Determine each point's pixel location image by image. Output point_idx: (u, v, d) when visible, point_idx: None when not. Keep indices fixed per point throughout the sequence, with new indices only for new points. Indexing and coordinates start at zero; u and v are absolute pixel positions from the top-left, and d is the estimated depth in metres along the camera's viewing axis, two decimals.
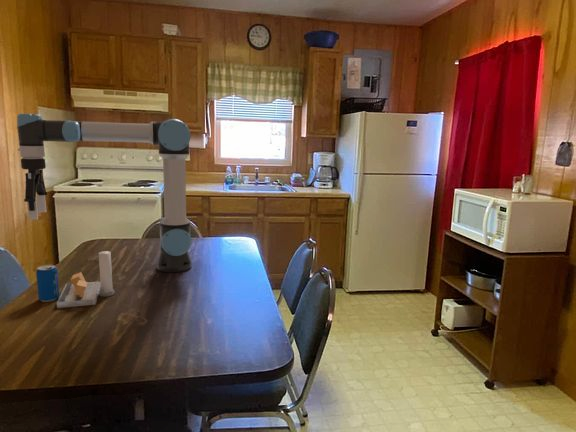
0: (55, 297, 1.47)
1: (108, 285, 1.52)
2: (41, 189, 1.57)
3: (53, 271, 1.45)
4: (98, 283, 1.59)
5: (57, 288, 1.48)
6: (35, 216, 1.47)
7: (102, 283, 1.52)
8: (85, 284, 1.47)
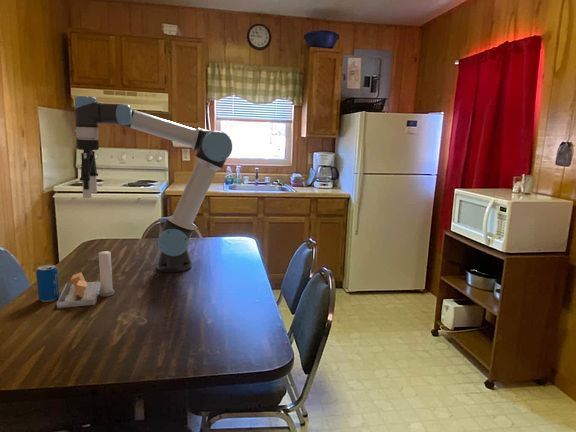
0: (55, 297, 1.47)
1: (108, 285, 1.52)
2: (93, 170, 1.63)
3: (53, 271, 1.45)
4: (98, 283, 1.59)
5: (57, 288, 1.48)
6: (89, 195, 1.53)
7: (102, 283, 1.52)
8: (85, 284, 1.47)
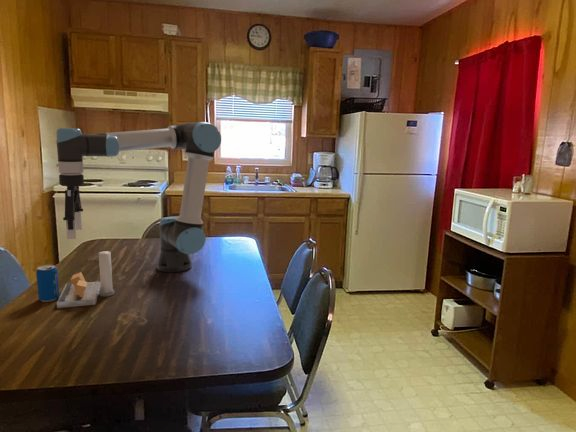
0: (55, 297, 1.47)
1: (108, 285, 1.52)
2: (78, 206, 1.50)
3: (53, 271, 1.45)
4: (98, 283, 1.59)
5: (57, 288, 1.48)
6: (73, 235, 1.40)
7: (102, 283, 1.52)
8: (85, 284, 1.47)
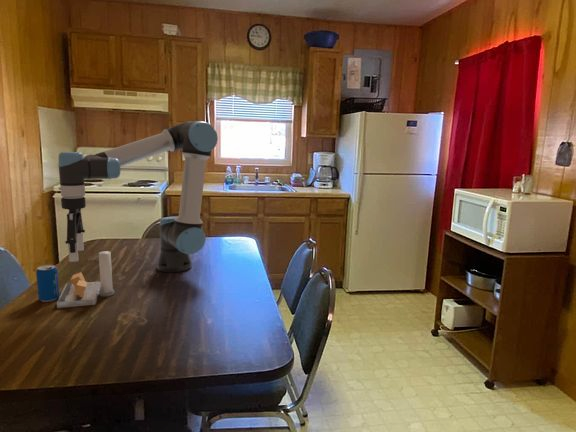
0: (55, 297, 1.47)
1: (108, 285, 1.52)
2: (80, 227, 1.52)
3: (53, 271, 1.45)
4: (98, 283, 1.59)
5: (57, 288, 1.48)
6: (75, 258, 1.42)
7: (102, 283, 1.52)
8: (85, 284, 1.47)
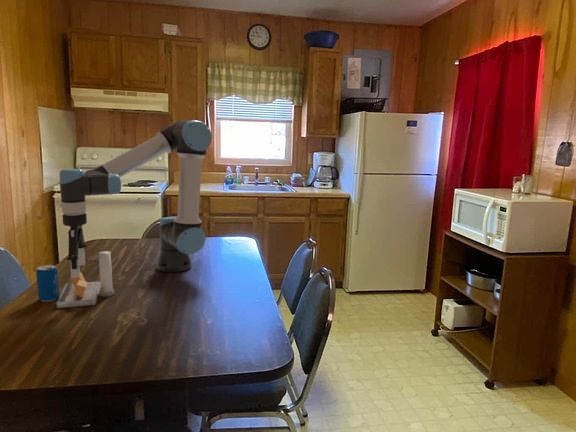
0: (55, 297, 1.47)
1: (108, 285, 1.52)
2: (81, 242, 1.53)
3: (53, 271, 1.45)
4: (98, 283, 1.59)
5: (57, 288, 1.48)
6: (77, 274, 1.43)
7: (102, 283, 1.52)
8: (85, 284, 1.47)
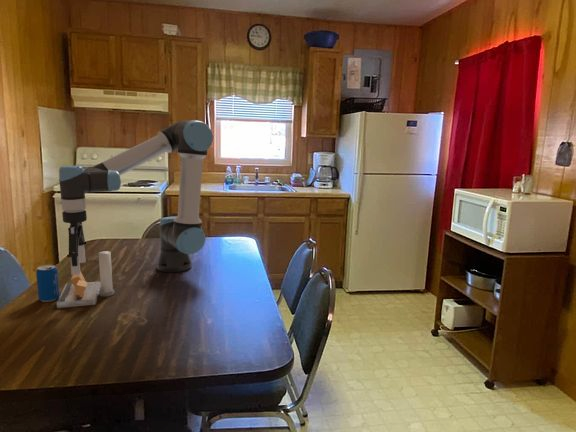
0: (55, 297, 1.47)
1: (108, 285, 1.52)
2: (81, 239, 1.53)
3: (53, 271, 1.45)
4: (98, 283, 1.59)
5: (57, 288, 1.48)
6: (78, 271, 1.43)
7: (102, 283, 1.52)
8: (85, 284, 1.47)
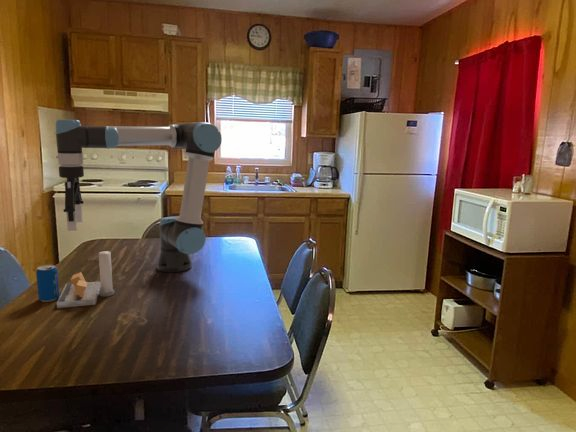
0: (55, 297, 1.47)
1: (108, 285, 1.52)
2: (78, 198, 1.50)
3: (53, 271, 1.45)
4: (98, 283, 1.59)
5: (57, 288, 1.48)
6: (74, 227, 1.40)
7: (102, 283, 1.52)
8: (85, 284, 1.47)
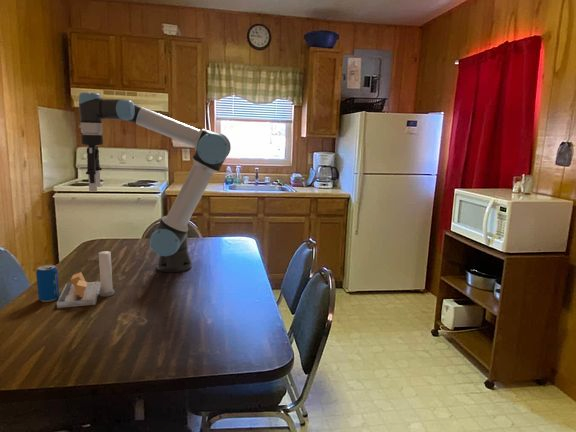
0: (55, 297, 1.47)
1: (108, 285, 1.52)
2: (97, 164, 1.68)
3: (53, 271, 1.45)
4: (98, 283, 1.59)
5: (57, 288, 1.48)
6: (95, 188, 1.58)
7: (102, 283, 1.52)
8: (85, 284, 1.47)
